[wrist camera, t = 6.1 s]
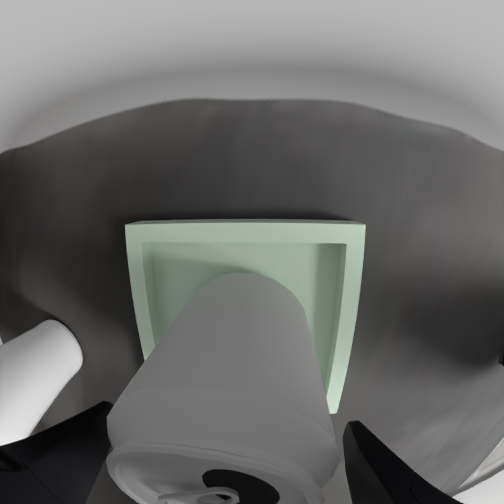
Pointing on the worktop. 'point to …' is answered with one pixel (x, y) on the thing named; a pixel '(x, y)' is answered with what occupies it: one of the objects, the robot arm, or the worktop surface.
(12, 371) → the drinking glass
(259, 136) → the worktop surface
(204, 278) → the tray
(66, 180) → the worktop surface
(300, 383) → the can
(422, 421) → the worktop surface
